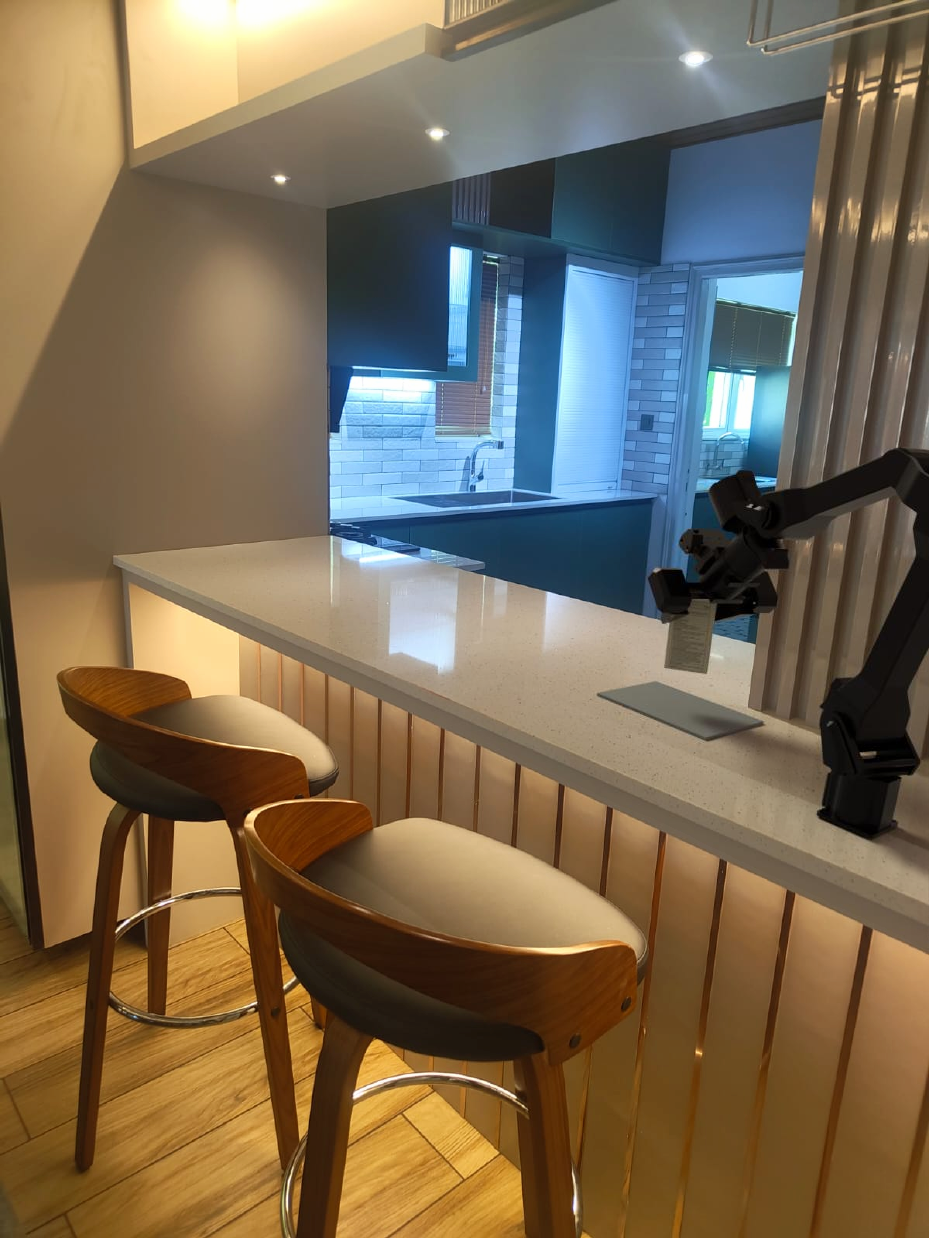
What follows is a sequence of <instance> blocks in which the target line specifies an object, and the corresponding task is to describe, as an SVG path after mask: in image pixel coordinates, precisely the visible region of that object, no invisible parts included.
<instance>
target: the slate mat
mask: <svg viewBox="0 0 929 1238" xmlns="http://www.w3.org/2000/svg"><path fill="white" fill-rule="evenodd" d="M597 695H598V697H600V698H602V699H604V698H605V699H604V700H607V699H608V700H607V701H610V702H612V703H614V702H615V703H614V704H617V705H619V706H621V705H623V706H622V707H624V708H627V709H629V708H630V709H629V710H631V709H632V711H633V712H636V713H638V712H640V713H639V714H641V715H643V716H646V715H647V716H646V717H648V718H650V719H654V720H655V721H658V722H661V723H662V722H663V724H665V725H668V726H669V727H672V728H675V729H678V730H680V731H682V732H685V733H687V734H689V735H691V736H694V737H697V738H699V739H701V740H704V741H708V740H711V739H714V738H718V737H721V736H722V737H723V736H726V735H729V734H732V733H735V732H740V731H743V730H746V729H750V728H754V727H757V726H760V725H764V724H765V723H764V722H765V721H764V720H762V719H759V718H756V717H753V716H751V715H748V714H746V713H742V712H741V711H737V710H735V709H733V708H730V707H726V706H725V705H721V704H718V703H716V702H713V701H711V700H708V699H705V698H702V697H700V696H697V695H694V694H691V693H690V692H686V691H683V690H681V689H678V688H676V687H672V686H670V685H668V684H664V683H662V682H660V681H656V680H655V681H649V682H645V683H641V684H635V685H630V686H625V687H620V688H615V689H609V690H605V691H600V692H597V693H596V696H597Z"/></svg>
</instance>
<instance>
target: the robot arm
mask: <svg viewBox="0 0 929 1238" xmlns="http://www.w3.org/2000/svg"><path fill="white" fill-rule="evenodd" d="M756 480H757V479H756V477H755V474H754V472H753V470H749V469H738V470H737V472H736V473H735V474H732V475H729V476H726V477H724V478H723V477H722V478H721V479H719V480H718V481H715V482H714V483H712V485H711V486H709V489H708V491H707V492H708V498H709V499H710V501H711V504H712V507H713V509H714V511H715V514H716V518H718V522H719V523H720V526H721V529H722V530H723V531H724V532H729V533H733V534H734V535H736V536H734V538H732V540H731V541H730V539H729V538H728V537H727V535H725V533H724V532H723V531H721V530H719V529H715V528H700V527H699V528H688V529H686V530H685V531H684V532H683V533H682V534H681V536H680V538H679V540H678V546H679V548H680V549H681V551H683V554H685V555H690V556H692V557H693V558H694V560H695V562H696V563H695V564H694V566H693V568H694V571H695V574H697V575H698V574H699V577H698V582H695V581H694V582H691V581H690V582H689V581H688V582H687V579H686V577H685V574H684V571H683V569H681V568H678V567H656V566H655V568H654V569H653V570H652V572H651V573H650V574H649V575H648V577H647V581H648V584H649V587H650V590H651V593H652V596H653V599H654V602H655V604H656V608H657V610H658V611H659V612H661V614H660V617H659V618H660V622H661V624H662V625H667V624H669V622H672V621H674V620H677V619H679V618H681V617H684V616H686V615H688V614H689V612H688V608H689V607H690V605H691V602H692V600H709V601H710V603H717V605H716V613H715V620H714V624H715V623H718V622H723V621H728V620H732V619H737V618H743V617H747V616H754V615H756V614H770V613H771V612H772V611H774V610H775V609H776V608H777V607H778V604H779V600H780V598H779V595H778V593H777V590H776V588H775V586H774V583H773V582H772V579H771V576H770V574H769V571H767V570H780V571H781V570H785V571H788V570H789V568H790V559H789V549H788V548H785V545H784V543H783V540H786V541H787V540H790V541H791V540H792V541H808V540H809V539H812V538H814V537H815V536H816V535H819V534H820V533H822V532H823V531H825V530H826V529H827V528H828V527H829V526H830V524H831V523H832V521H833V520H835V519H837V518H838V517H840V516H843V515H846V514H849V513H852V512H855V511H857V510H860V509H862V508H864V507H868V506H871V505H873V504H876V503H878V502H881V501H883V500H886V499H889V498H892V497H895V496H898V498H899V499H900V501H901V503H902V504H903V505H905V506H907V508H909V509H911V510H912V511H913V512H914V513H916V515H915V518H914V522H913V525H912V534H913V540H914V541H913V542H914V549H915V556H914V558H913V561H912V563H911V565H910V567H909V569H908V571H907V573H906V576H905V578H904V580H903V582H902V583H901V586H900V588H899V590H898V593H897V595H896V597H895V599H894V600H893V602H892V605H891V607H890V609H889V612H888V614H887V615H886V618H885V620H884V622H883V624H882V626H881V628H880V630H879V633H878V634H877V637H876V638H875V641H874V642H873V645H872V647H871V649H870V651H869V653H868V655H867V658H866V660H865V662H864V664H863V666H862V668H861V670H860V671H859V672H858V673H857V674H856V675H855V676H851V677H849V676H848V677H836V678H834V679H833V681H832V683H831V684H830V686H829V689H828V694H827V695H826V698H825V699H824V701H823V702H822V703H821V704H820V705H819V709H821V710H822V711H821V714H820V716H819V722H818V723H819V725H818V726H819V729H820V739H821V740H820V741H821V754H822V764H823V765H824V766H825V767H828V768H829V769H830V770H831V771H829V772H827V775H826V778H825V784H824V788H823V789H824V790H823V794H822V799H821V803H820V804H821V806H822V807H823V808H820V809H818V810H816V816H817V817H819V818H822V819H824V820H826V821H828V822H831V823H832V824H835V825H837V826H840V827H841V828H843V829H846V830H849V831H851V832H854V833H855V834H858V835H860V836H862V837H864V838H866V839H870V840H871V839H875V838H876V837H879V836H881V835H883V834H885V833H887V832H889V831H891V830H892V829H895V828H897V827H898V826H899V821H898V820H896V819H894V816H895V815H894V814H895V810H896V805H897V801H898V797H899V791H900V787H901V785H902V784H901V783H902V779H903V778H902V776H908V777H909V776H914V774H915V772H916V771H917V770H918V768H919V766H920V765H921V759H920V756H919V754H918V752H917V750H916V748H915V746H914V744H913V742H912V740H911V738H910V737H911V736H910V735H909V733H908V731H907V726H908V724H909V720H910V717H911V714H912V713H911V703H910V697H909V688H910V685H911V684H912V682H913V681H914V678H915V676H916V674H917V673H918V671H919V668H920V667H921V665H922V663H923V660H924V659H925V657H926V655H927V653H928V651H929V449H926V448H913V447H904V446H902V447H901V446H899V447H893V448H892V449H889V450H887V451H886V452H885V453H884V454H883V455H881V456H879V457H876V458H874V459H872V460H869V461H867V462H864V463H862V464H860V465H857V466H855V467H853V468H850V469H848V470H846V471H843V472H841V473H838V474H836V475H834V476H832V477H829V478H826V479H825V480H822V481H820V482H817V483H815V484H813V485H810V486H809V485H808V486H803V487H796V488H795V487H793V488H783V489H778V490H773V491H766V492H764V493H762V492H761V491H760V488H759V486H758V484H757V482H756ZM873 752H875V754H867V755H862V754H861V753H873Z"/></svg>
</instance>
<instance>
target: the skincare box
mask: <svg viewBox="0 0 929 1238" xmlns="http://www.w3.org/2000/svg"><path fill="white" fill-rule="evenodd" d="M716 605H717V603H710V601H709V600H692V602H691V605H690V607H689V608H688V612H689V614H688V615H686V616H684V617H681V618H679V619H677V620H674V621H672V622H669V623H668V631H667V640H666V647H665V653H664V654H665V655H664V663H663V668H664V669H667V670H668V669H669V670H674V671H683V672H687V673H688V672H689V673H695V674H696V673H697V674H704V675H707V673H708V671H709V670H708V669H709V664H710V656H711V650H712V649H711V648H712V641H713V634H714V625H715V623H714V620H715V613H716Z"/></svg>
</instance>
